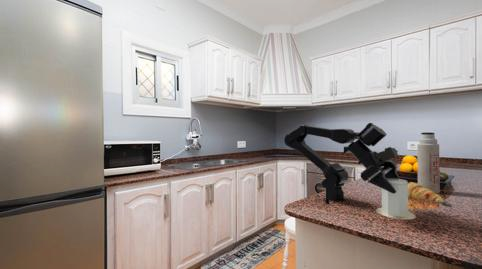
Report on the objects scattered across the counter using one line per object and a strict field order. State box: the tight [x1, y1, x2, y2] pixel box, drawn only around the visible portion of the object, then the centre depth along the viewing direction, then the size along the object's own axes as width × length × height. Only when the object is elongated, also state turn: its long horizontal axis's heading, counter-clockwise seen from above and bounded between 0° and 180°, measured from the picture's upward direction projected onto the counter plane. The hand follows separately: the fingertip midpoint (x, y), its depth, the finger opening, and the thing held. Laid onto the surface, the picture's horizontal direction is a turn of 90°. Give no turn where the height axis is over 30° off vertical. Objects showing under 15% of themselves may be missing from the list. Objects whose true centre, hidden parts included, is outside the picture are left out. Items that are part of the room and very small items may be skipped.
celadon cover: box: [380, 178, 409, 217], centre depth 74 cm, size 7×7×11 cm
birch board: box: [375, 207, 417, 220], centre depth 74 cm, size 11×11×1 cm
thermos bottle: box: [416, 131, 441, 194], centre depth 106 cm, size 8×8×28 cm
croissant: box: [407, 181, 445, 205], centre depth 95 cm, size 21×10×8 cm, turn 18°
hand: (399, 190), depth 73 cm, fingers open, 9 cm apart
